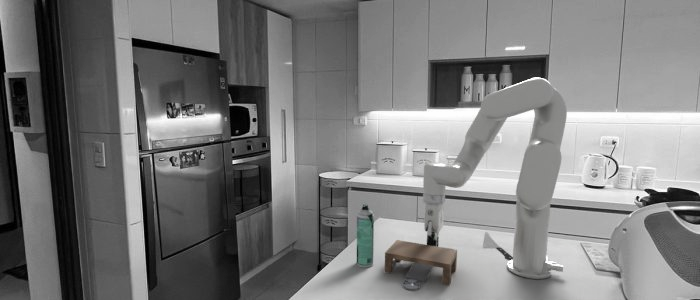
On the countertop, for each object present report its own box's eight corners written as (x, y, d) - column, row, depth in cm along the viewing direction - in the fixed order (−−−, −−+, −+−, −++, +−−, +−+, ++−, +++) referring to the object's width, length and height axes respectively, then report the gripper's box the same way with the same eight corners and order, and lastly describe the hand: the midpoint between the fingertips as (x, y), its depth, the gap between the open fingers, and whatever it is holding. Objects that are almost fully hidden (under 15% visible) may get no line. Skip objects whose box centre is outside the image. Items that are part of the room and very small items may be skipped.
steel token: (422, 285, 110) (422, 281, 110) (416, 293, 106) (416, 289, 106) (405, 281, 112) (406, 277, 112) (400, 288, 108) (400, 285, 108)
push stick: (441, 252, 133) (441, 231, 132) (424, 283, 111) (425, 257, 110) (424, 249, 136) (425, 228, 135) (404, 279, 113) (405, 254, 112)
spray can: (375, 262, 125) (376, 204, 122) (369, 268, 120) (370, 208, 118) (360, 259, 127) (360, 202, 125) (353, 265, 122) (354, 206, 120)
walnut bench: (456, 269, 120) (457, 249, 119) (449, 285, 109) (450, 264, 108) (396, 258, 128) (396, 239, 128) (384, 272, 118) (384, 252, 117)
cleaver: (488, 261, 127) (517, 261, 127) (488, 260, 127) (517, 259, 127) (461, 232, 156) (485, 231, 156) (461, 231, 156) (485, 230, 156)
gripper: (440, 205, 122) (438, 259, 124) (449, 194, 136) (447, 242, 139) (417, 202, 125) (416, 255, 127) (428, 192, 139) (427, 239, 142)
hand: (432, 248), depth 133 cm, fingers closed on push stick, 3 cm apart
